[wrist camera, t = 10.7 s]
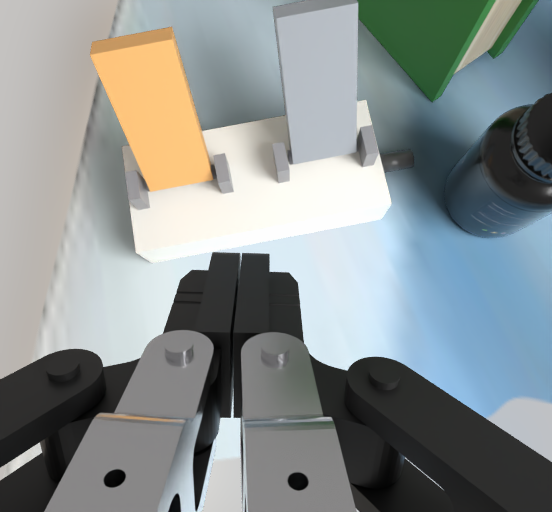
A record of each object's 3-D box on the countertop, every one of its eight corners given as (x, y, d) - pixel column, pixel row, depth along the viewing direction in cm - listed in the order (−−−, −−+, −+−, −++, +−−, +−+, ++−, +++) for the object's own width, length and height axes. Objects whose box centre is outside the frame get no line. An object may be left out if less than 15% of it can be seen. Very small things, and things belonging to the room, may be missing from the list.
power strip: (395, 118, 39) (414, 75, 33) (419, 211, 38) (444, 184, 31) (138, 167, 39) (110, 132, 33) (152, 263, 37) (125, 245, 31)
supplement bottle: (445, 150, 38) (512, 61, 27) (533, 162, 38) (640, 77, 26) (437, 234, 37) (503, 179, 25) (528, 247, 37) (638, 197, 25)
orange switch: (215, 170, 34) (175, 25, 26) (217, 183, 34) (176, 38, 26) (149, 182, 34) (88, 42, 26) (149, 196, 34) (86, 55, 25)
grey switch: (354, 144, 35) (355, -9, 27) (359, 156, 34) (361, 2, 26) (287, 156, 35) (268, 7, 26) (291, 169, 34) (272, 19, 26)
